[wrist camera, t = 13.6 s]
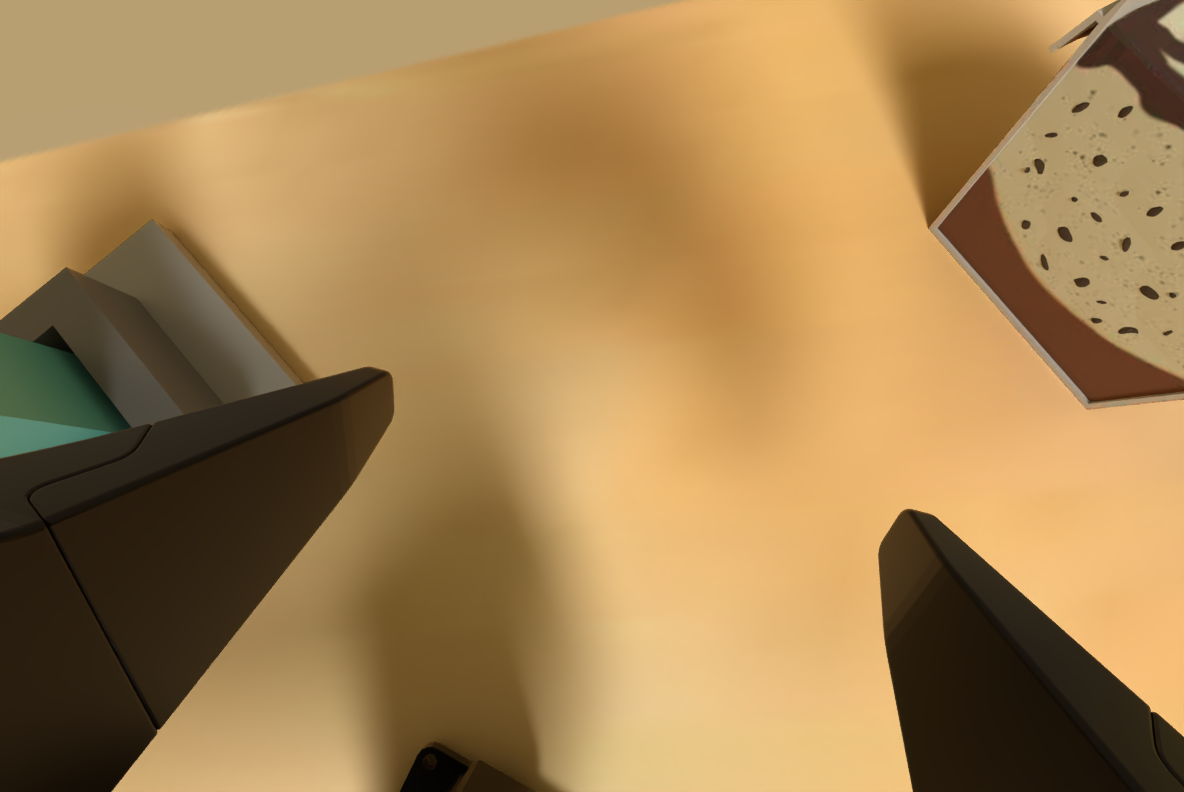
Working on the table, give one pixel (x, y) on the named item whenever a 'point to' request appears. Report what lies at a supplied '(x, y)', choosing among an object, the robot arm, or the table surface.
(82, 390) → the plug
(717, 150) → the table surface
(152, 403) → the socket
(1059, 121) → the food container
